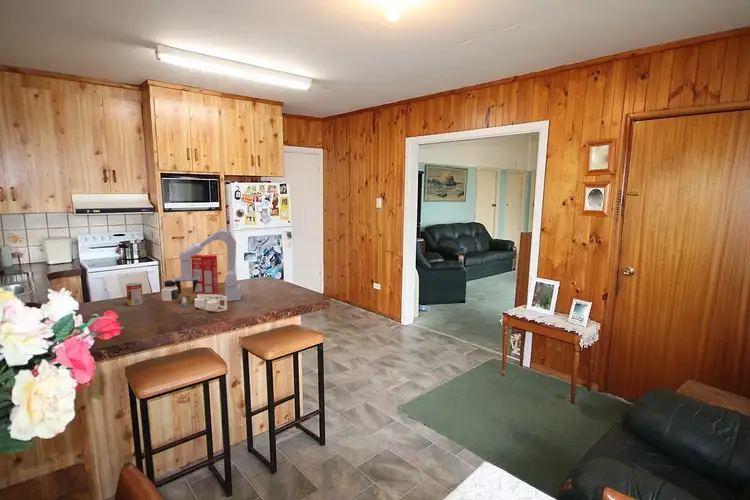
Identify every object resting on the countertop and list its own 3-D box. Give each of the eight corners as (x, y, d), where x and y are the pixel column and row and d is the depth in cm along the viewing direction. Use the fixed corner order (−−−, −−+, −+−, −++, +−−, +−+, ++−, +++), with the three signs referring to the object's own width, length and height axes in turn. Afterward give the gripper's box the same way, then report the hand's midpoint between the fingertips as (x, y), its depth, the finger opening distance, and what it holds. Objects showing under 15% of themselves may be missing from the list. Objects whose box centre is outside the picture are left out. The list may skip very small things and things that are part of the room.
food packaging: (218, 292, 269) (216, 255, 266) (214, 294, 264) (212, 256, 260) (197, 291, 271) (195, 254, 267) (193, 293, 265) (191, 255, 262)
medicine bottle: (171, 301, 245) (170, 282, 244) (161, 300, 247) (160, 281, 245) (179, 298, 252) (178, 279, 251) (169, 297, 254) (168, 279, 252)
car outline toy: (191, 308, 231) (190, 296, 230) (207, 304, 241) (206, 292, 240) (214, 314, 221) (213, 301, 220) (230, 309, 231) (229, 296, 230)
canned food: (139, 301, 245) (137, 281, 243) (145, 303, 240) (144, 283, 239) (125, 303, 239) (123, 284, 237) (131, 306, 234) (129, 286, 232)
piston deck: (189, 304, 240) (189, 296, 239) (188, 306, 234) (188, 298, 233) (180, 304, 238) (180, 296, 237) (179, 307, 232) (178, 299, 232)
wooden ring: (193, 300, 248) (193, 295, 248) (192, 302, 243) (192, 297, 243) (183, 301, 246) (183, 296, 246) (182, 303, 241) (182, 298, 241)
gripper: (199, 269, 248) (200, 290, 250) (173, 270, 243) (174, 292, 245) (199, 271, 242) (199, 293, 244) (172, 272, 237) (173, 294, 239)
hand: (187, 292), depth 244 cm, fingers open, 7 cm apart
